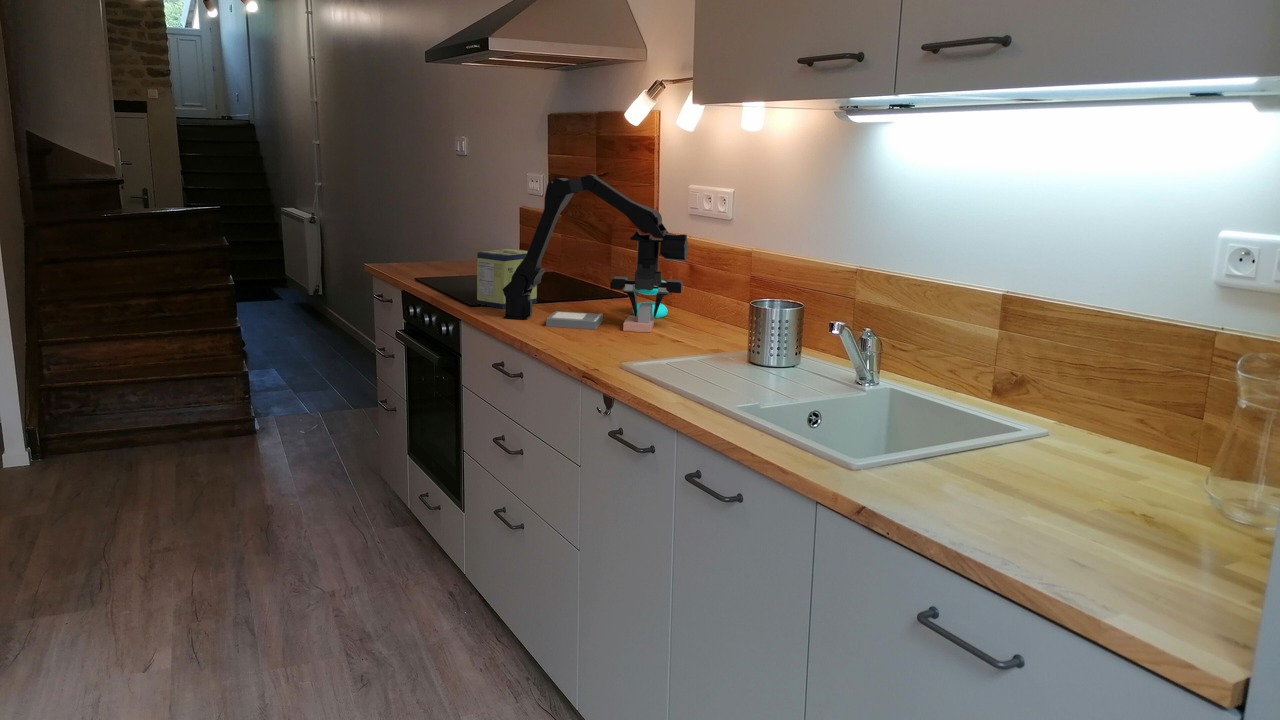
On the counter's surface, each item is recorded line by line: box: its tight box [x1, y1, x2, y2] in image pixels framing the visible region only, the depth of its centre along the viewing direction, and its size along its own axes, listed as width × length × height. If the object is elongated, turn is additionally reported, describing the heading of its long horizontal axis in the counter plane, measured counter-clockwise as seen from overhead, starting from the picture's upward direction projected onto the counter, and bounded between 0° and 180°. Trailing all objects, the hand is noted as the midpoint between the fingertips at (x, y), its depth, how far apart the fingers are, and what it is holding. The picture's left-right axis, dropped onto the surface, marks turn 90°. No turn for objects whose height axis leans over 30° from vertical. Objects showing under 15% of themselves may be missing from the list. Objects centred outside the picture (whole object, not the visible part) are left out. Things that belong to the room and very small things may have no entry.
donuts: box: [632, 280, 669, 319], centre depth 266 cm, size 10×10×10 cm
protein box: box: [476, 248, 538, 310], centre depth 275 cm, size 10×16×16 cm
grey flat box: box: [545, 310, 604, 330], centre depth 251 cm, size 13×12×2 cm
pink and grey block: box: [622, 302, 656, 333], centre depth 248 cm, size 7×12×6 cm, turn 174°
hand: (645, 316), depth 248 cm, fingers open, 5 cm apart
